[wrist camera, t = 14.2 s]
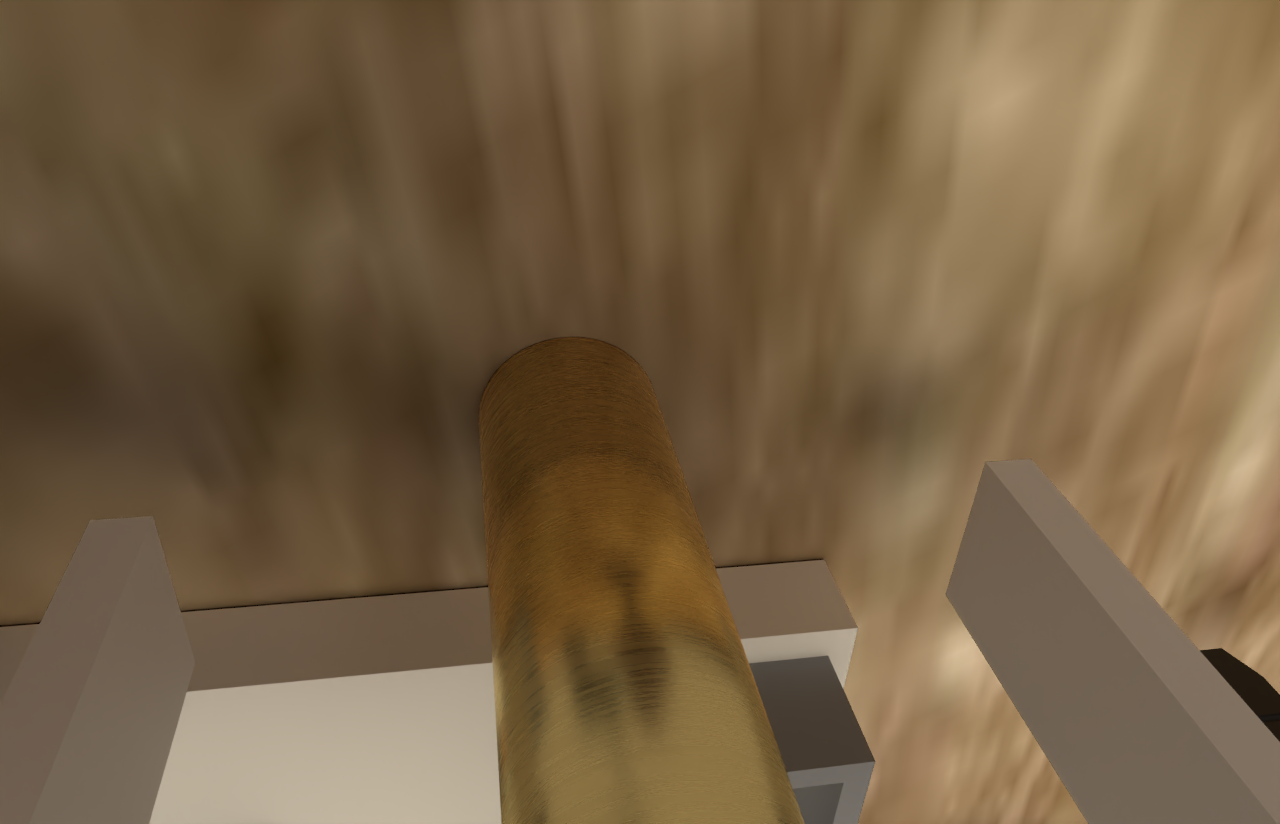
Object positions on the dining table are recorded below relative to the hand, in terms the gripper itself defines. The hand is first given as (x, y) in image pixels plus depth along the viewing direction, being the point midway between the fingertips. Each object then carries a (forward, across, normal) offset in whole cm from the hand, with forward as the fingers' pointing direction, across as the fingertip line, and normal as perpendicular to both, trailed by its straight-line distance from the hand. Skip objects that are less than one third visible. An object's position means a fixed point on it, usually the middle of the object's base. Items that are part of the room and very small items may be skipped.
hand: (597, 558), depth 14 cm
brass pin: (+4, 0, 0) cm, 4 cm away
